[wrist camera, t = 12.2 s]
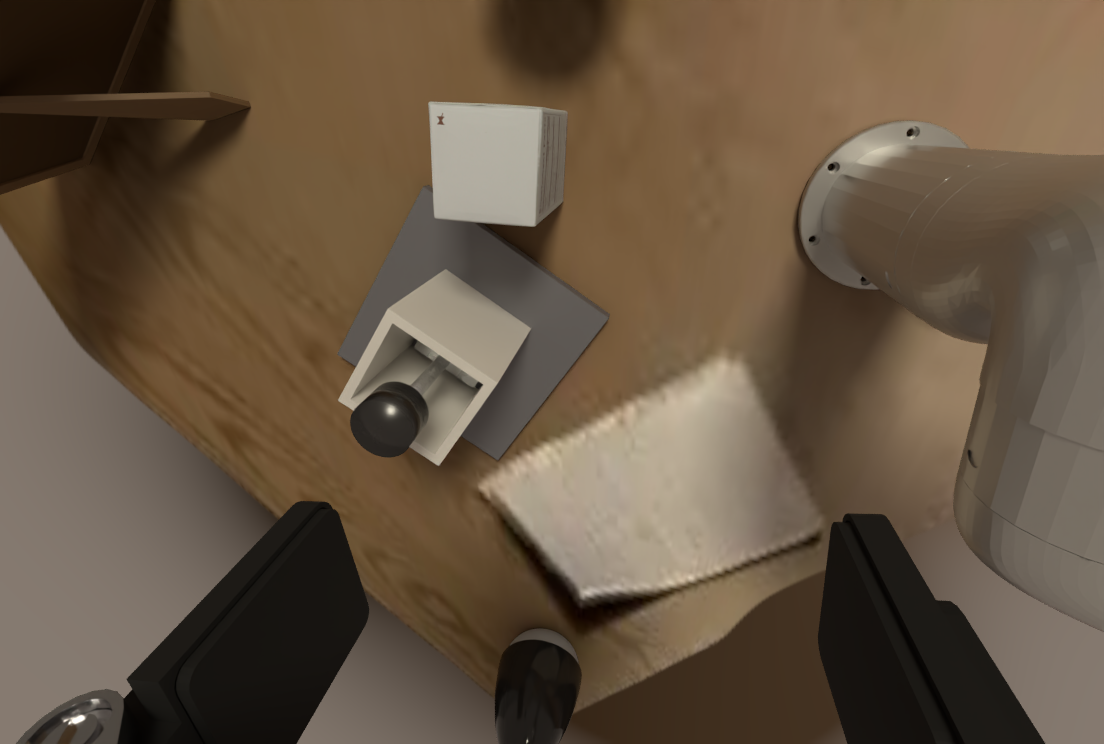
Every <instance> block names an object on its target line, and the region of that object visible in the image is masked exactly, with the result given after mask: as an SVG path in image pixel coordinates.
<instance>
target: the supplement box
mask: <svg viewBox="0 0 1104 744" xmlns="http://www.w3.org/2000/svg"><path fill="white" fill-rule="evenodd" d="M428 106H429V121H430V137H431V158H432V181H433V205H434V217H435V218H436V219H442V220H452V221H463V222H475V223H487V224H501V225H513V226H529V227H535V226H536V225H537V224H538V223H540V222H541V221H542V220H543V219H544V218H545V217H547V216H548V215H549V214H550V213H551V212H552V211H553V210H555V209H556V208H557V207H558V206H559V205H560V204H561V203H562V202H563V191H564V171H565V154H566V136H567V116H568V113H567V111H564V110H555V109H549V108H544V107H533V106H520V105H505V104H483V103H450V102H429V103H428Z"/></svg>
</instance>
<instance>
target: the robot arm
mask: <svg viewBox="0 0 1104 744" xmlns="http://www.w3.org/2000/svg"><path fill="white" fill-rule="evenodd" d="M909 129H911V134H910V135H909V136H907V135H906V134H907V131H908V130H909ZM830 164H833V165H834V167H833V169H832V170H828V166H829V165H830ZM798 229H799V235H800V240H801V243H802V245H803V248H804V251H805V253H806V254H807V256H808V257H809V259H810V260H811V262H812V263H813V264H814V265H815V266H816V267H817V268H818V269H819V270H820V271H821V272H822V273H823V274H825V275H826V276H828V277H829V278H830V279H832V280H834V281H836V282H838V283H840V284H842V285H845V286H849V287H853V288H857V289H867V290H878V289H880V290H882V291H883V292H884V293H886V294H887V295H889V296H890V297H891V298H893V299H894V300H895V301H897V302H898V303H900V304H901V305H902V306H904V307H905V308H906V309H908V310H909V311H911V312H912V313H913V314H915V315H916V316H917V317H919V318H921V319H922V320H924V321H925V322H927V323H928V324H929V325H931V326H932V327H934V328H935V329H937V330H939V331H941V332H943V333H945V334H947V335H949V336H952V337H954V338H957V339H960V340H964V341H968V342H973V343H979V344H988V346H987V350H986V355H985V359H984V363H983V366H982V370H981V374H980V379H979V380H980V388H979V392H978V396H977V400H976V404H975V408H974V411H973V415H972V419H971V423H970V427H969V431H968V435H967V439H966V442H965V446H964V450H963V454H962V458H961V461H960V465H959V469H958V473H957V477H956V483H955V489H954V500H953V508H954V516H955V521H956V524H957V527H958V529H959V532H960V534H961V536H962V537H963V539H964V541H965V542H966V544H967V545H968V546H969V548H970V549H971V550H972V551H973V553H974V554H975V555H976V556H977V557H978V558H979V559H980V560H981V561H982V562H983V563H984V564H985V565H986V566H988V567H989V568H990V569H991V570H992V571H994V572H995V573H996V574H997V575H998V576H1000V577H1001V578H1003V579H1004V580H1006V581H1007V582H1009V583H1010V584H1012V585H1013V586H1015V587H1016V588H1018V589H1019V590H1021V591H1023V592H1024V593H1026V594H1028V595H1029V596H1031V597H1033V598H1035V599H1037V600H1038V601H1040V602H1042V603H1044V604H1046V605H1048V606H1050V607H1052V608H1054V609H1056V610H1057V611H1059V612H1061V613H1064V614H1066V615H1068V616H1070V617H1072V618H1074V619H1076V620H1078V621H1080V622H1083V623H1085V624H1087V625H1089V626H1091V627H1093V628H1096V629H1098V630H1100V631H1103V632H1104V155H1059V154H1044V153H1027V152H1014V151H1000V150H986V149H971V148H969V147H968V146H967V145H966V143H965V142H964V141H963V140H962V139H961V138H960V137H959V136H957V135H956V134H954V133H952V132H951V131H949V130H948V129H946V128H944V127H941V126H938V125H935V124H932V123H929V122H920V121H895V122H889V123H884V124H879V125H876V126H874V127H871V128H868V129H865V130H863V131H861V132H859V133H857V134H855V135H854V136H852V137H850V138H848V139H846V140H845V141H844V142H842V143H841V144H840V145H839V146H837V147H836V148H835V149H834V150H832V151H831V152H830V153H829V154H828V155H827V157H826V158H825V159H824V160H823V161H822V162H821V163H820V164H819V165H818V167H817V168H816V170H815V171H814V173H813V174H812V176H811V177H810V179H809V181H808V183H807V186H806V188H805V190H804V192H803V195H802V199H801V203H800V207H799V214H798ZM811 236H814V240H813V241H809V238H810V237H811ZM862 277H864V278H865V279H864V280H860V279H861V278H862ZM368 615H369V606H368V602H367V599H366V596H365V593H364V590H363V587H362V584H361V581H360V578H359V575H358V571H357V568H356V565H355V562H354V559H353V556H352V553H351V550H350V547H349V544H348V541H347V538H346V535H345V532H344V529H343V526H342V523H341V520H340V517H339V514H338V512H337V511H336V510H334V509H332V507H331V505H330V504H329V503H327V502H313V501H300V502H297V503H295V504H294V505H293V506H292V507H291V508H290V509H289V510H288V511H287V512H286V513H285V514H284V515H283V516H282V517H281V518H280V519H279V520H278V521H277V522H276V523H275V525H274V526H273V527H272V528H271V529H270V530H269V531H268V532H267V533H266V534H265V535H264V536H263V537H262V538H261V539H260V540H259V541H258V542H257V543H256V545H254V546H253V548H252V549H251V550H250V551H249V552H248V553H247V554H246V555H245V556H244V557H243V558H242V559H241V560H240V561H239V562H238V563H237V564H236V565H235V566H234V567H233V568H232V570H231V571H230V572H229V573H228V574H227V575H226V576H225V577H224V578H223V579H222V580H221V581H220V582H219V583H218V584H217V585H216V586H215V587H214V588H213V589H212V590H211V592H210V593H209V594H208V595H207V596H206V597H205V598H204V599H203V600H202V601H201V602H200V603H199V604H198V605H197V606H196V607H195V608H194V609H193V610H192V611H191V612H190V613H189V614H188V615H187V617H186V618H185V619H184V620H183V621H182V622H181V623H180V624H179V625H178V626H177V627H176V628H175V629H174V630H173V631H172V632H171V633H170V634H169V635H168V636H167V637H166V639H164V641H163V642H162V643H161V644H160V645H159V646H158V647H157V648H156V649H155V650H154V651H153V652H152V653H151V654H150V655H149V656H148V658H146V659H145V660H144V661H143V662H142V663H141V665H140V666H139V667H138V668H137V669H136V670H135V671H134V672H133V673H132V674H131V675H130V676H129V677H128V679H127V681H128V682H129V684H130V686H131V687H132V691H131V692H130V693H129V694H128V695H127V696H126V697H125V698H123V697H122V696H121V695H120V694H119V693H118V692H117V691H112V690H108V689H105V690H98V691H92V692H89V693H86V694H83V695H80V696H77V697H75V698H73V699H71V700H70V701H67V702H66V703H64V704H62V705H60V706H58V707H57V708H56V709H54V710H52V711H51V712H50V713H48V714H47V715H45V716H44V717H42V718H41V719H40V720H39V721H38V722H36V723H35V724H34V725H33V726H32V727H31V728H30V729H29V730H28V731H26V732H25V733H24V735H23V736H22V737H21V738H20V739H19V741H18V742H17V743H16V744H297V742H298V740H299V738H300V737H301V735H302V733H303V731H304V730H305V728H306V726H307V725H308V723H309V721H310V719H311V718H312V716H313V714H314V713H315V711H316V709H317V707H318V706H319V704H320V702H321V700H322V699H323V697H324V695H325V694H326V692H327V690H328V688H329V687H330V685H331V683H332V682H333V680H334V678H335V676H336V675H337V673H338V671H339V670H340V668H341V666H342V665H343V663H344V661H345V659H346V658H347V656H348V654H349V652H350V651H351V649H352V647H353V646H354V644H355V642H356V640H357V639H358V637H359V635H360V634H361V632H362V630H363V628H364V627H365V625H366V622H367V619H368ZM818 644H819V651H820V656H821V660H822V663H823V666H824V669H825V673H826V676H827V679H828V682H829V686H830V689H831V692H832V695H833V699H834V702H835V705H836V708H837V712H838V714H839V718H840V721H841V724H842V728H843V731H844V734H845V737H846V740H847V743H848V744H1045V743H1044V741H1043V739H1042V738H1041V736H1040V735H1039V733H1038V731H1037V730H1036V728H1035V727H1034V725H1033V723H1032V722H1031V720H1030V719H1029V717H1028V716H1027V714H1026V712H1025V711H1024V709H1023V708H1022V706H1021V704H1020V703H1019V701H1018V700H1017V698H1016V697H1015V695H1014V693H1013V692H1012V690H1011V689H1010V687H1009V685H1008V684H1007V682H1006V681H1005V679H1004V677H1003V676H1002V674H1001V673H1000V671H999V670H998V668H997V666H996V665H995V663H994V662H993V660H992V658H991V657H990V655H989V654H988V652H987V650H986V649H985V647H984V646H983V644H982V642H981V641H980V639H979V638H978V637H977V635H976V633H975V631H974V630H973V628H972V627H971V625H970V623H969V622H968V620H967V619H966V617H965V615H964V614H963V613H962V612H961V610H960V609H959V608H958V607H957V606H956V605H955V604H953V603H952V602H951V601H937V600H935V598H934V596H933V594H932V593H931V591H930V589H929V588H928V586H927V585H926V583H925V581H924V579H923V578H922V576H921V574H920V572H919V571H918V569H917V568H916V566H915V564H914V562H913V561H912V559H911V557H910V556H909V554H908V552H907V550H906V549H905V547H904V545H903V544H902V542H901V540H900V539H899V537H898V535H897V533H896V532H895V530H894V528H893V527H892V525H891V523H890V522H889V520H888V519H887V517H886V516H884V515H882V514H845V516H844V518H843V522H834V523H833V524H832V527H831V533H830V541H829V550H828V558H827V566H826V575H825V583H824V591H823V600H822V607H821V616H820V624H819V633H818Z"/></svg>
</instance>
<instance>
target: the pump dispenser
mask: <svg viewBox="0 0 1104 744" xmlns="http://www.w3.org/2000/svg"><path fill="white" fill-rule="evenodd" d="M581 677H582V674H581V669H580V666H579V662H578V658H577V655H576V652H575V650H574V648H573V647H572V645H571V644H570V642H569V641H568V640H567V639H566V638H565V637H563V636H562V635H560V634H559V633H557V632H555V631H552V630H549V629H542V628H538V629H531V630H528V631H525V632H523V633H522V634H520V635H519V636H517V637H516V638H515V639H514V640H513V641H512V643H511V644H510V646H509V647H508V648H507V649H506V650H505V651H504V652H503V654H502V657H501V660H500V663H499V668H498V674H497V681H496V690H495V726H496V735H497V742H498V744H559V742H560V740H561V739H562V737H563V734H564V733H565V731H566V728H567V726H568V724H569V721H570V719H571V716H572V714H573V711H574V708H575V705H576V701H577V698H578V694H579V690H580V685H581Z"/></svg>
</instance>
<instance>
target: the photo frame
mask: <svg viewBox="0 0 1104 744" xmlns="http://www.w3.org/2000/svg"><path fill="white" fill-rule="evenodd" d="M155 1H156V0H0V195H1V194H4V193H7V192H10V191H12V190H15V189H18V188H21V187H24V186H27V185H30V184H33V183H36V182H39V181H42V180H45V179H48V178H51V177H54V176H57V175H60V174H63V173H66V172H68V171H71V170H74V169H77V168H80V167H83V166H86V165H89V164H90V162H91V159H92V157H93V154H94V152H95V149H96V147H97V145H98V142H99V140H100V137H101V135H102V132H103V130H104V127H105V125H106V122H107V120H108V117H129V118H156V119H183V120H210V121H212V120H215V119H218V118H221V117H224V116H226V115H229V114H232V113H235V112H238V111H240V110H243V109H246V108H249V107H250V104H249V102H248V101H244V100H240V99H236V98H232V97H228V96H224V95H220V94H216V93H212V92H170V93H126V94H118V93H119V90H120V88H121V85H122V83H123V80H124V78H125V75H126V73H127V71H128V68H129V66H130V63H131V61H132V58H133V56H134V53H135V51H136V48H137V46H138V43H139V41H140V38H141V36H142V34H143V31H144V29H145V26H146V24H147V21H148V19H149V16H150V14H151V11H152V9H153V6H154V4H155Z"/></svg>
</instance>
